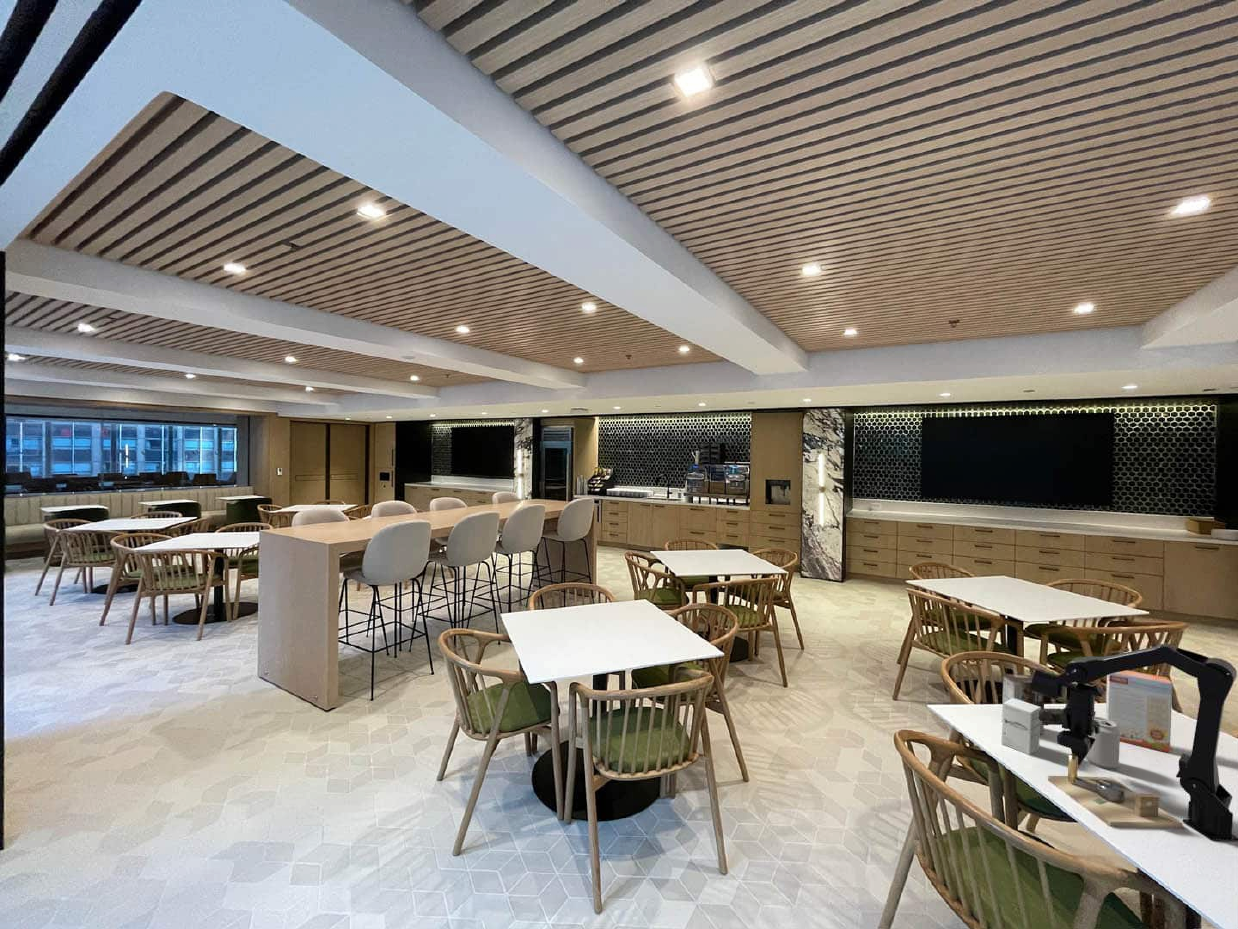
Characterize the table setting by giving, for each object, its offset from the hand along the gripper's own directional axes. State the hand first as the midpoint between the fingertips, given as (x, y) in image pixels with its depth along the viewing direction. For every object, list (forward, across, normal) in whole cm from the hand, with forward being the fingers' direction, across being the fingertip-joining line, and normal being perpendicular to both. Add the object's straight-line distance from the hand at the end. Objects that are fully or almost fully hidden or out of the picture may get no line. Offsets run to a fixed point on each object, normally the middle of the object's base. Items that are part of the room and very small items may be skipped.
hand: (1077, 764), depth 145 cm
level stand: (+4, +6, +7) cm, 10 cm away
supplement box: (+4, -8, -14) cm, 17 cm away
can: (+4, -16, +3) cm, 17 cm away
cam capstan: (+3, +6, +4) cm, 8 cm away
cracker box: (+4, -41, +8) cm, 42 cm away
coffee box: (+4, -22, -17) cm, 28 cm away
